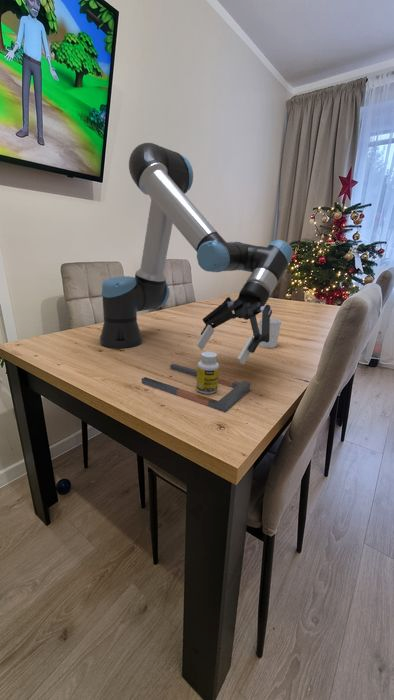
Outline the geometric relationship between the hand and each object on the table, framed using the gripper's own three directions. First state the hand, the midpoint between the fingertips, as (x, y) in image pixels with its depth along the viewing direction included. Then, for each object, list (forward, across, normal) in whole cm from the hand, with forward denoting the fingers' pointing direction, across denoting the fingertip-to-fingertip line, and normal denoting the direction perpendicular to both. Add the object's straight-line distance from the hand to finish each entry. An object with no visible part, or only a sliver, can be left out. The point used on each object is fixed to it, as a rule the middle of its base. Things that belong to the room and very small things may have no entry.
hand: (218, 354), depth 77 cm
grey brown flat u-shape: (+9, +4, -4) cm, 11 cm away
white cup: (-23, +10, -37) cm, 45 cm away
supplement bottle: (+9, +1, -4) cm, 10 cm away
